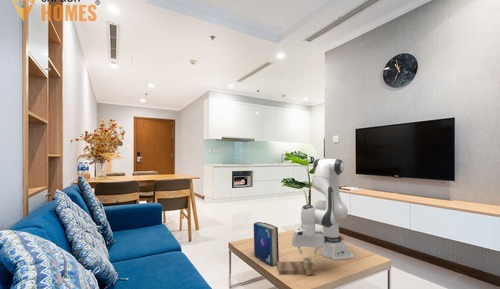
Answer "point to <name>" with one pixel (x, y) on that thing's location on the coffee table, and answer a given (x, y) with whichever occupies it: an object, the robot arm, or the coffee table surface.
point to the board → (291, 268)
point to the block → (309, 266)
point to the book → (266, 243)
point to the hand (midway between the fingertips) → (308, 253)
